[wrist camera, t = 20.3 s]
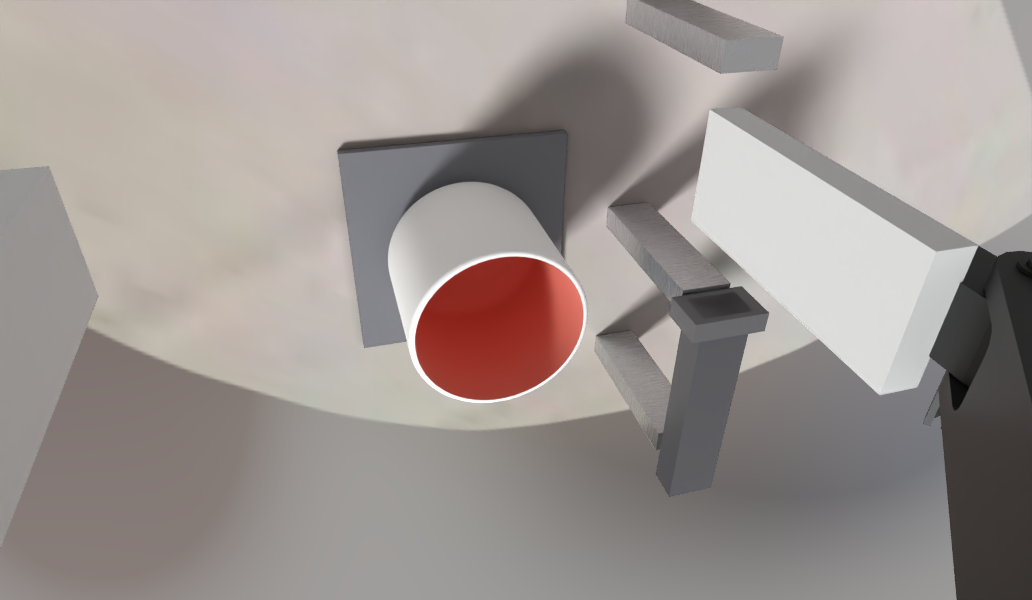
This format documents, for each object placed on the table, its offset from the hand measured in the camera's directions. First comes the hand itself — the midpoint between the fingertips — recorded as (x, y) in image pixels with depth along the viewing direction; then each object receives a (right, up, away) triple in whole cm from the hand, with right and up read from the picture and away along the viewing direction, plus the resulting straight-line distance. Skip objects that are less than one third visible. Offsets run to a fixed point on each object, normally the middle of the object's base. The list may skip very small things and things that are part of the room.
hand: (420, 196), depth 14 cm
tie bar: (+13, -7, +29) cm, 32 cm away
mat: (-2, +2, +32) cm, 32 cm away
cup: (-2, +2, +31) cm, 31 cm away
